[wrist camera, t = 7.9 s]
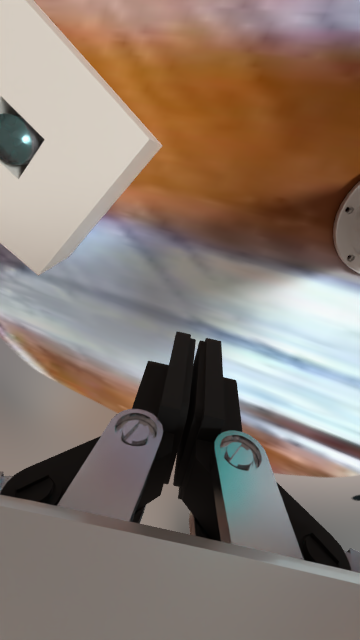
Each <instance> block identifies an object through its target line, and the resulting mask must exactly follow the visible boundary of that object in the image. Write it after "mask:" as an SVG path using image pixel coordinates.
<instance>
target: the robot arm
mask: <svg viewBox="0 0 360 640" xmlns="http://www.w3.org/2000/svg"><path fill="white" fill-rule="evenodd" d="M347 207H348V211H346V212H345V209H346V208H347ZM333 239H334V245H335V248H336V251H337V253H338V255H339V257H340V258H341V260H342V261H343V262H344V263H345V264H346V265H347V266H348V267H349V268H350V269H352V270H354V271H355V272H357V273H359V274H360V181H359V182H358V183H357V184H356V185H355V186H354V187H353V188H352V190H351V191H350V192H349V193H348V194H347V196H346V197H345V199H344V200H343V202H342V204H341V205H340V208H339V210H338V212H337V215H336V218H335V222H334V228H333ZM349 255H350V257H349V258H347V257H348V256H349ZM190 337H191V335H190V334H186V333H181V332H176V336H175V341H174V345H173V350H172V354H171V359H170V363H169V365H165V364H161V363H156V362H152V361H148V363H147V366H146V369H145V372H144V375H143V378H142V381H141V384H140V386H139V389H138V392H137V395H136V398H135V401H134V404H133V407H132V409H128V410H125V411H122V412H120V413H118V414H116V416H114V418H113V419H112V420H111V421H110V423H109V425H108V426H107V428H106V429H105V431H104V432H103V434H102V435H101V436H100V437H98V438H96V439H93V440H91V441H88V442H86V443H84V444H82V445H79V446H77V447H75V448H72V449H70V450H67V451H65V452H63V453H61V454H58V455H56V456H54V457H51V458H49V459H47V460H44V461H42V462H40V463H37V464H35V465H33V466H30V467H28V468H26V469H24V470H22V471H20V472H19V473H17V474H16V475H14V476H4V474H3V472H0V640H360V552H358V551H356V550H353V549H351V548H350V549H349V550H348V551H347V552H346V551H344V550H343V549H342V547H341V546H340V545H339V543H338V542H337V541H336V540H335V539H334V538H333V536H332V535H331V534H330V533H329V532H327V531H326V530H325V529H324V528H323V527H322V526H321V525H320V524H319V523H318V522H317V521H316V520H315V519H314V518H313V517H312V516H311V515H310V514H309V513H308V512H307V511H306V510H305V509H304V508H303V507H302V506H301V505H300V504H299V503H298V502H296V501H295V500H294V499H293V498H292V497H291V496H290V495H289V494H288V493H287V492H286V491H285V490H284V489H283V488H282V487H281V486H280V485H279V484H278V483H277V482H276V480H275V477H274V474H273V472H272V469H271V466H270V463H269V460H268V457H267V455H266V452H265V451H264V449H263V447H262V446H261V445H260V443H259V442H258V441H257V440H255V439H254V438H253V437H251V436H250V435H248V434H246V433H243V432H242V425H241V416H240V407H239V399H238V390H237V383H236V380H233V379H229V378H224V377H223V369H222V349H221V341H217V340H213V339H208V338H206V340H205V342H204V341H200V342H199V345H198V349H197V353H196V356H195V360H194V351H195V341H196V340H195V339H191V338H190ZM193 361H194V364H193ZM176 455H177V458H176ZM175 458H176V467H175V475H174V483H173V485H174V486H178V487H179V495H178V498H179V499H182V500H183V502H184V503H185V505H186V506H187V507H188V509H189V510H190V514H189V528H190V535H188V534H184V533H179V532H175V531H170V530H166V529H161V528H157V527H152V526H148V525H143V524H140V521H141V519H142V516H143V513H144V510H145V506H146V504H147V503H149V502H151V501H152V500H154V499H155V498H157V497H158V496H160V495H161V491H162V487H163V484H168V483H169V479H170V476H171V472H172V469H173V465H174V462H175Z"/></svg>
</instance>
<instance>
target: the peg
mask: <svg viewBox="0 0 360 640" xmlns="http://www.w3.org/2000/svg"><path fill="white" fill-rule="evenodd" d="M44 140H45V139H44V138H43V137H42V136H41V135H40V134H39V133H38V132H37V131H36V130H35V129H34V128H33V127H32V126H31V125H30V124H29V123H28V122H27V121H26V120H25V119H24V118H22V117H18V116H15V115H11V114H6V113H3V114H0V159H1V160H3V161H4V162H6V163H9V164H13V165H28V164H29V163H30V161H31V160H32V158H33V157H34V155H35V154H36V152H37V151H38V149H39V148H40V146H41V145H42V143H43V142H44Z"/></svg>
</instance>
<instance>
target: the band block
mask: <svg viewBox="0 0 360 640" xmlns="http://www.w3.org/2000/svg"><path fill="white" fill-rule="evenodd" d="M3 113H6V114H11V115H15V116H18V117H22V118H24V119H25V120H26V121H27V122H28V123H29V124H30V125H31V126H32V127H33V128H34V129H35V130H36V131H37V132H38V133H39V134H40V135H41V136H42V137H43V138H44V139H45V140H44V142H43V143H42V145H41V146H40V148H39V149H38V151H37V152H36V154H35V155H34V157H33V158H32V160H31V161H30V163H29V164H28V165H13V164H9V163H6V162H4V161H3V160H1V159H0V243H1V244H2V245H3V246H4V247H6V248H7V249H8V250H9V251H10V252H11V253H13V254H14V255H15V256H16V257H17V258H18V259H20V260H21V261H22V262H23V263H24V264H25V265H27V266H28V267H29V268H30V269H31V270H32V271H34V272H35V273H36V274H37V275H38V276H39V275H40V274H42V273H44V272H45V271H47V270H48V269H50V268H52V267H53V266H55V265H57V264H58V263H60V262H62V261H63V260H65V259H66V258H68V257H69V256H70V255H71V254H72V253H73V252H74V250H75V249H76V248H77V247H78V246H79V244H80V243H81V242H82V241H83V240H84V238H85V237H86V236H87V235H88V234H89V233H90V231H91V230H92V229H93V228H94V227H95V225H96V224H97V223H98V222H99V221H100V219H101V218H102V217H103V216H104V215H105V213H106V212H107V211H108V210H109V209H110V208H111V206H112V205H113V204H114V203H115V202H116V200H117V199H118V198H119V197H120V196H121V194H122V193H123V192H124V191H125V190H126V188H127V187H128V186H129V185H130V184H131V183H132V181H133V180H134V179H135V178H136V177H137V175H138V174H139V173H140V172H141V171H142V169H143V168H144V167H145V166H146V165H147V163H148V162H149V161H150V160H151V159H152V158H153V156H154V155H155V154H156V153H157V152H158V150H159V149H160V148H161V147H162V145H161V143H160V142H159V141H158V140H157V139H156V138H155V137H154V136H153V134H152V133H151V132H150V131H149V130H148V129H147V128H146V127H145V125H144V124H143V123H142V122H141V121H140V120H139V119H138V118H137V116H136V115H135V114H134V113H133V112H132V111H131V110H130V109H129V107H128V106H127V105H126V104H125V103H124V102H123V101H122V100H121V98H120V97H119V96H118V95H117V94H116V93H115V92H114V90H113V89H112V88H111V87H110V86H109V85H108V84H107V83H106V81H105V80H104V79H103V78H102V77H101V76H100V75H99V74H98V72H97V71H96V70H95V69H94V68H93V67H92V66H91V65H90V63H89V62H88V61H87V60H86V59H85V58H84V57H83V56H82V54H81V53H80V52H79V51H78V50H77V49H76V48H75V47H74V45H73V44H72V43H71V42H70V41H69V40H68V39H67V37H66V36H65V35H64V34H63V33H62V32H61V31H60V30H59V28H58V27H57V26H56V25H55V24H54V23H53V22H52V21H51V19H50V18H49V17H48V16H47V15H46V14H45V13H44V12H43V10H42V9H41V8H40V7H39V6H38V5H37V4H36V3H35V1H34V0H0V114H3Z"/></svg>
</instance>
